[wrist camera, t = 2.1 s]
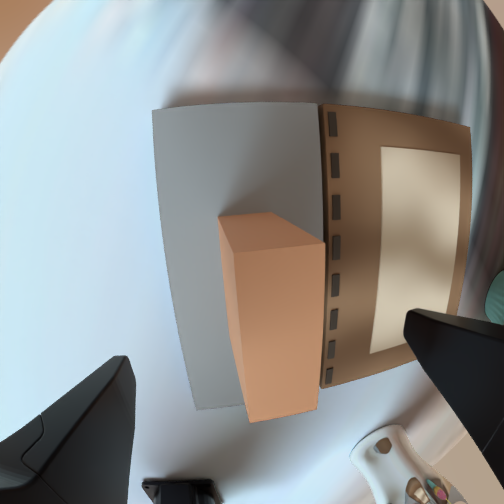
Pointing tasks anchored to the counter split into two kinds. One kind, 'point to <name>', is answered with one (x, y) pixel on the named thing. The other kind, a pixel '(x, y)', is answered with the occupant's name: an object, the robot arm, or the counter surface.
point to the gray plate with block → (245, 250)
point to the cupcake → (496, 300)
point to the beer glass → (400, 471)
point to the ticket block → (388, 231)
